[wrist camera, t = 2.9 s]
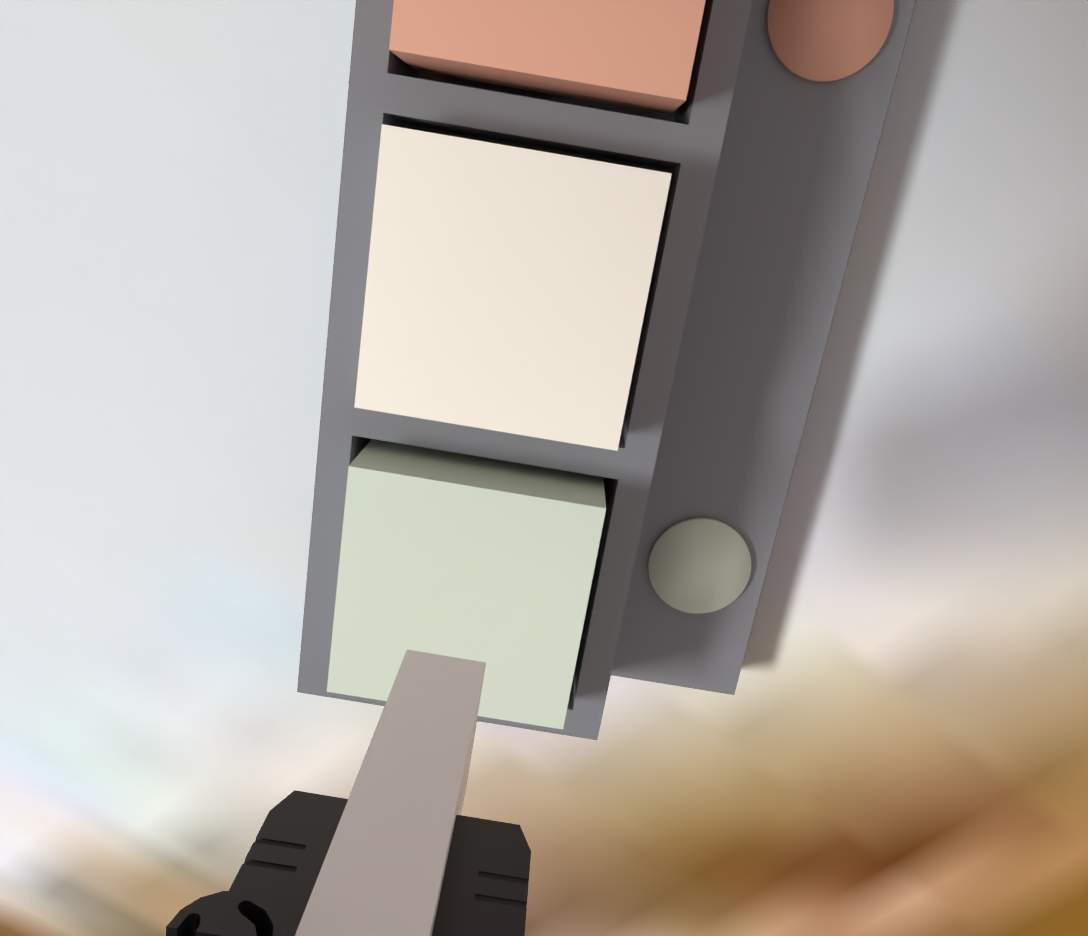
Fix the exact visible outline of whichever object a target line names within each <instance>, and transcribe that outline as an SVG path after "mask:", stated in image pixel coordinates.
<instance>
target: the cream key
mask: <svg viewBox="0 0 1088 936" xmlns="http://www.w3.org/2000/svg"><path fill="white" fill-rule="evenodd" d="M671 175H672V173H666V172H660V171H654V170H648V169H642V168H636V167H630V166H625V165H619V164H613V163H607V162H601V161H595V160H589V159H583V158H578V157H572V156H566V155H560V154H554V153H548V152H542V151H536V150H531V149H525V148H519V147H513V146H507V145H501V144H495V143H489V142H484V141H478V140H472V139H466V138H460V137H454V136H448V135H442V134H437V133H431V132H425V131H419V130H413V129H407V128H401V127H395V126H390V125H384V124H382V127H381V137H380V148H379V158H378V168H377V178H376V189H375V199H374V209H373V220H372V230H371V240H370V251H369V261H368V271H367V281H366V292H365V302H364V312H363V323H362V333H361V343H360V354H359V364H358V374H357V385H356V395H355V405H354V407H355V408H361V409H367V410H373V411H379V412H385V413H391V414H397V415H403V416H409V417H415V418H421V419H427V420H433V421H439V422H445V423H451V424H457V425H464V426H470V427H476V428H482V429H488V430H494V431H500V432H506V433H512V434H518V435H524V436H530V437H536V438H542V439H548V440H554V441H560V442H566V443H572V444H578V445H584V446H590V447H596V448H603V449H609V450H615V451H618V446H619V441H620V436H621V430H622V425H623V420H624V415H625V410H626V405H627V400H628V395H629V390H630V384H631V379H632V374H633V369H634V364H635V359H636V354H637V349H638V344H639V338H640V333H641V328H642V323H643V318H644V313H645V308H646V303H647V298H648V292H649V287H650V282H651V277H652V272H653V267H654V262H655V257H656V251H657V246H658V241H659V236H660V231H661V226H662V221H663V216H664V211H665V205H666V200H667V195H668V190H669V185H670V180H671Z"/></svg>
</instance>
